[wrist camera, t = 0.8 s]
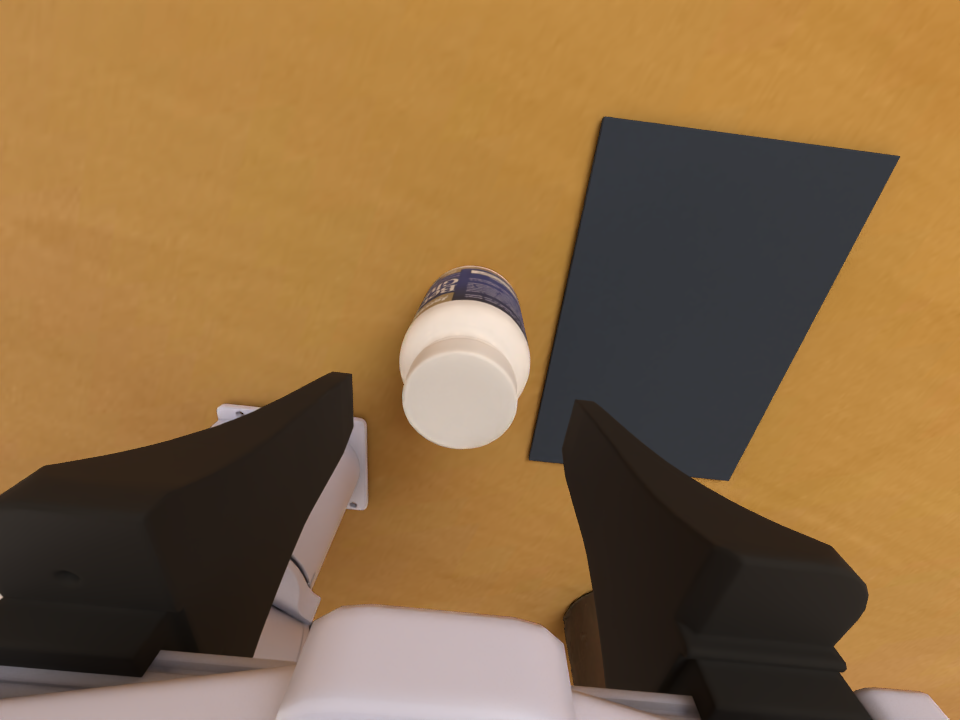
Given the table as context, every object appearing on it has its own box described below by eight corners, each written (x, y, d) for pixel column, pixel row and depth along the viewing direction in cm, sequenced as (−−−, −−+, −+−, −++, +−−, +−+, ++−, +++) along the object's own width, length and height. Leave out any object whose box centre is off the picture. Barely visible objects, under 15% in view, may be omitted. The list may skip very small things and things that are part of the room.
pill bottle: (451, 244, 20) (422, 299, 11) (537, 293, 21) (571, 378, 12) (408, 328, 22) (356, 428, 13) (489, 368, 23) (489, 486, 15)
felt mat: (528, 457, 26) (528, 460, 26) (602, 117, 17) (604, 116, 17) (726, 478, 27) (728, 481, 26) (894, 156, 18) (901, 156, 18)
